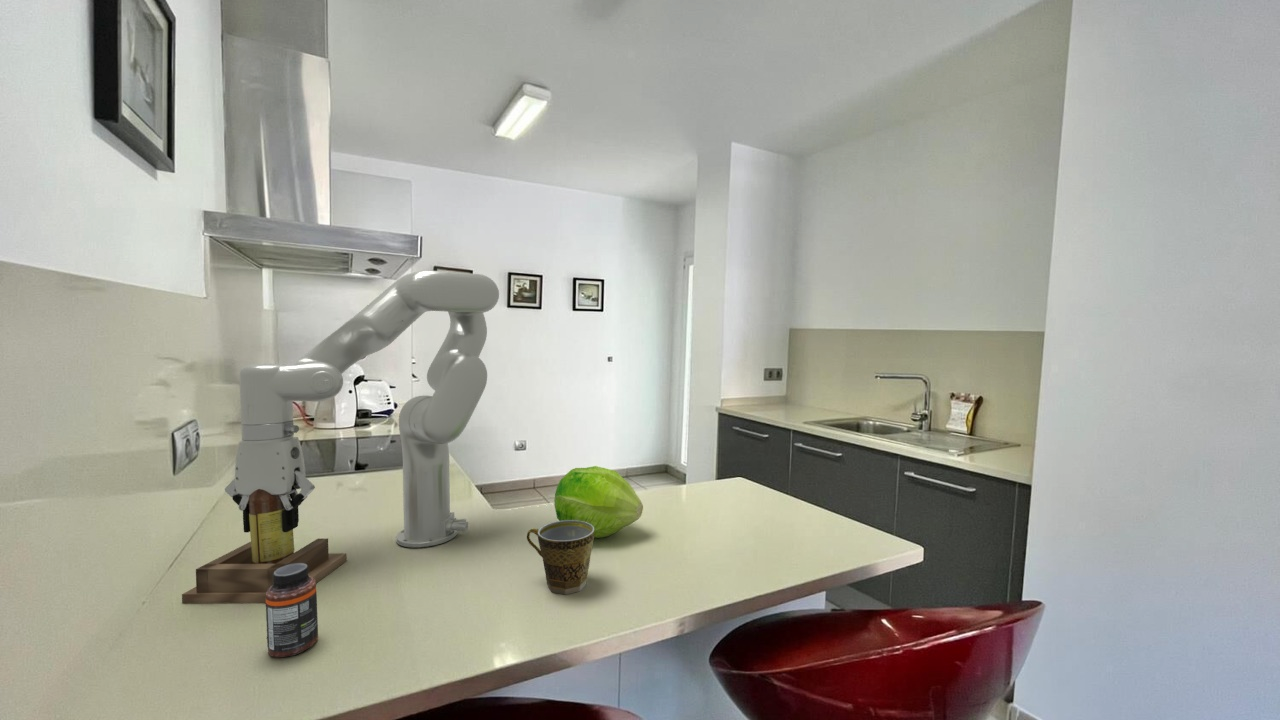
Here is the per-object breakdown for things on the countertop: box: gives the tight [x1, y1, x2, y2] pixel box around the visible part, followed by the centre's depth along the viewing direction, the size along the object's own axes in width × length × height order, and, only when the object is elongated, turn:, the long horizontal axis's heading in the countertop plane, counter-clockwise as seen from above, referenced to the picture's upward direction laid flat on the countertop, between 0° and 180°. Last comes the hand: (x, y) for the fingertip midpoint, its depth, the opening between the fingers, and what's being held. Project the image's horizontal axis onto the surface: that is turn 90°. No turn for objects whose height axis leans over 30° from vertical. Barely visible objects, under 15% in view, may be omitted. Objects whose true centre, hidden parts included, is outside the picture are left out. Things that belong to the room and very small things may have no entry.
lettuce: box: [553, 465, 644, 539], centre depth 111 cm, size 17×20×15 cm
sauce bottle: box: [249, 489, 295, 564], centre depth 90 cm, size 7×6×20 cm
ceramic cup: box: [526, 520, 595, 596], centre depth 88 cm, size 13×10×10 cm
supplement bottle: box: [265, 563, 319, 658], centre depth 70 cm, size 6×6×11 cm
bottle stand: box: [181, 538, 348, 604], centre depth 90 cm, size 18×16×6 cm
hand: (271, 528), depth 90 cm, fingers closed on sauce bottle, 6 cm apart
